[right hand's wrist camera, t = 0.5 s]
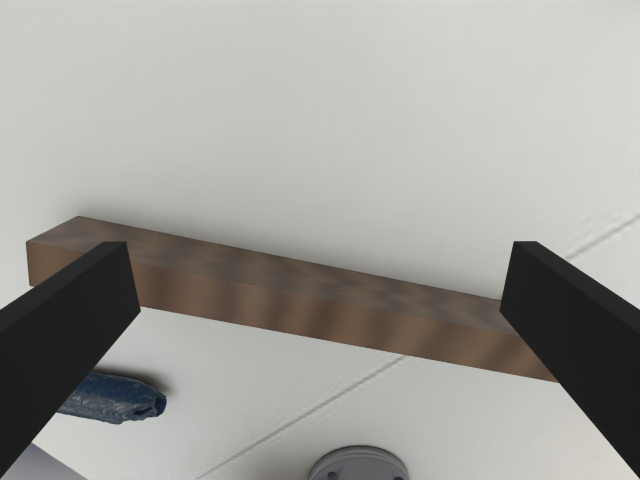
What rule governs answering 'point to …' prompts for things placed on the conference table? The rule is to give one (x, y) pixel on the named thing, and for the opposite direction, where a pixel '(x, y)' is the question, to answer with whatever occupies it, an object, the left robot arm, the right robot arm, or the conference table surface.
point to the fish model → (113, 399)
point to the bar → (298, 297)
